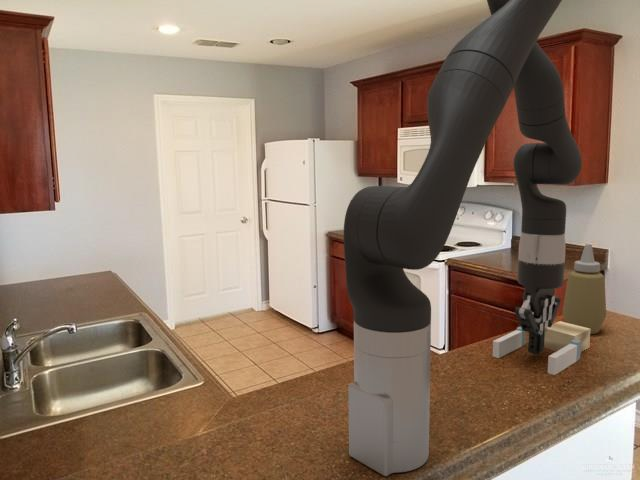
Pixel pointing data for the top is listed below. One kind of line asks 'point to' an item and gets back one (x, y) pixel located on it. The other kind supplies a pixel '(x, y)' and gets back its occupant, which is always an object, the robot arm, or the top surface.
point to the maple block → (566, 336)
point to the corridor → (555, 360)
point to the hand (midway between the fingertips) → (535, 352)
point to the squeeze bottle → (585, 294)
